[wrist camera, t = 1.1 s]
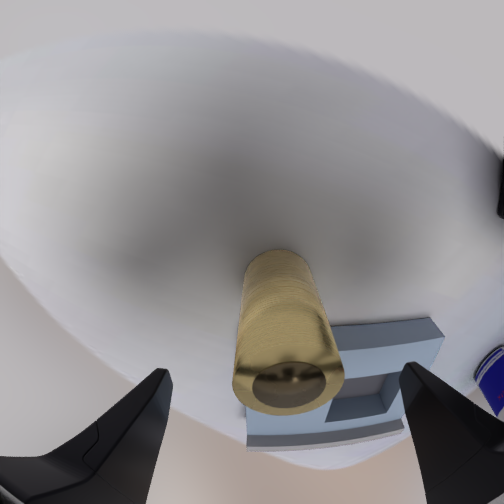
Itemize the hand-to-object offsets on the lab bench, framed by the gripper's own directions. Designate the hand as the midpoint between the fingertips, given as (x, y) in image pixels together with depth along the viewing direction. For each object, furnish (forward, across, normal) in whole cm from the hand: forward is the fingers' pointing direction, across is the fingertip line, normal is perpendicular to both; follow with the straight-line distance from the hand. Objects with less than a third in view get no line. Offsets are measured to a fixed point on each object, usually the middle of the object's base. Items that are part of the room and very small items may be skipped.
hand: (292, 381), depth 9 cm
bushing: (+8, 0, 0) cm, 8 cm away
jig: (+8, -5, +9) cm, 13 cm away
